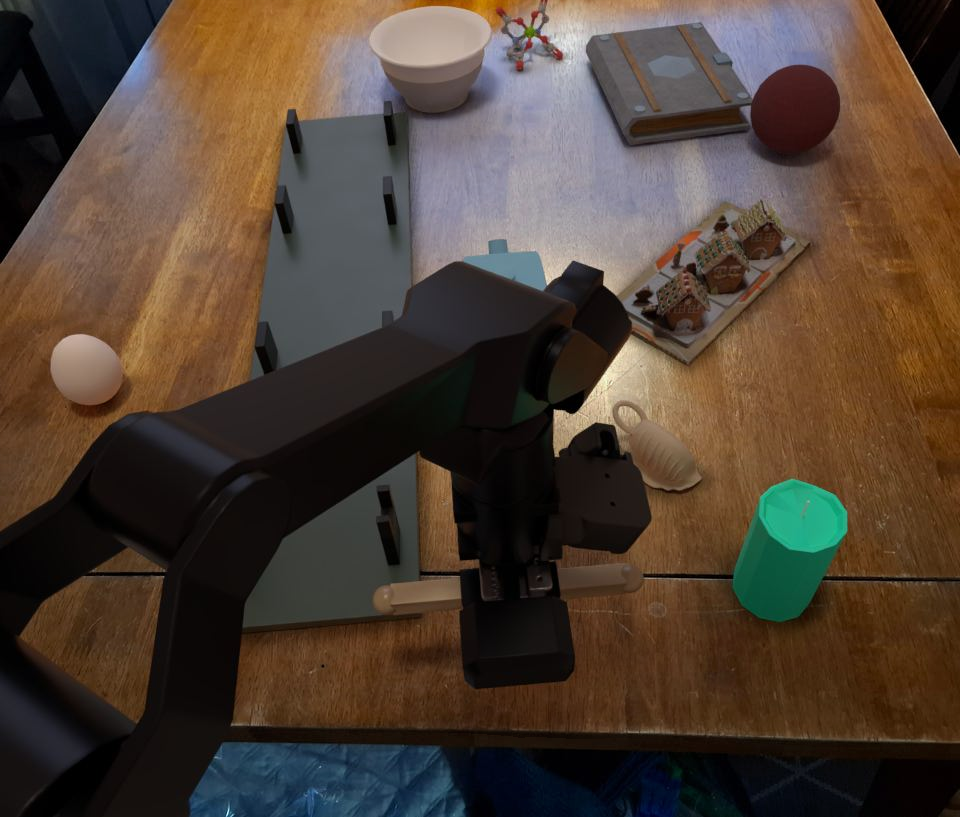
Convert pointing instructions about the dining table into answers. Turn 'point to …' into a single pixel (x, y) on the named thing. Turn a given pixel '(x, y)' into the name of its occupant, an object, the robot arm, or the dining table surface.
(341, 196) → the rack
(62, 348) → the egg
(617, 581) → the beige rounded rod
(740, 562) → the candle
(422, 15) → the bowl
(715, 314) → the gingerbread house
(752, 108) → the decorative ball
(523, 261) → the teapot
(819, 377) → the dining table surface
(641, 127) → the book
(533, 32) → the molecular model
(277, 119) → the dining table surface
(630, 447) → the decorative ornament
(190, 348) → the dining table surface
